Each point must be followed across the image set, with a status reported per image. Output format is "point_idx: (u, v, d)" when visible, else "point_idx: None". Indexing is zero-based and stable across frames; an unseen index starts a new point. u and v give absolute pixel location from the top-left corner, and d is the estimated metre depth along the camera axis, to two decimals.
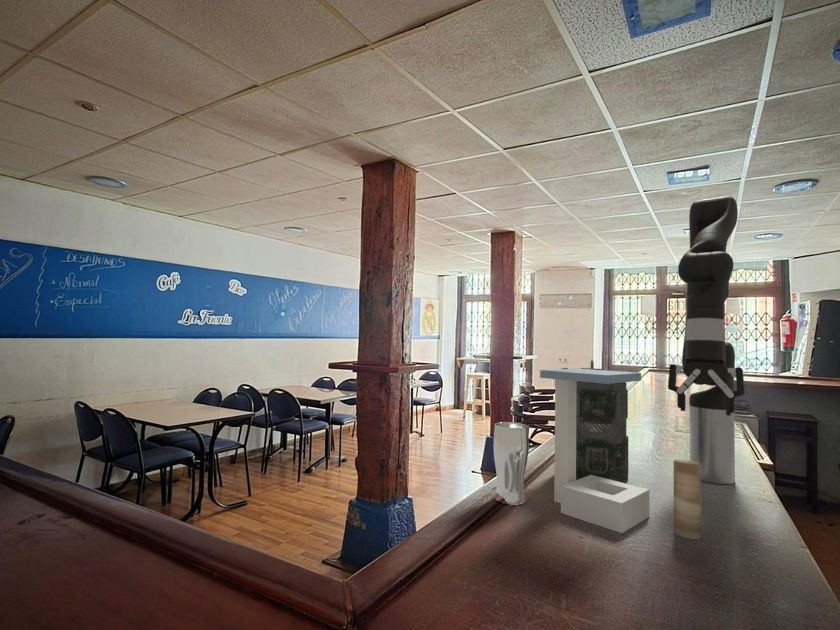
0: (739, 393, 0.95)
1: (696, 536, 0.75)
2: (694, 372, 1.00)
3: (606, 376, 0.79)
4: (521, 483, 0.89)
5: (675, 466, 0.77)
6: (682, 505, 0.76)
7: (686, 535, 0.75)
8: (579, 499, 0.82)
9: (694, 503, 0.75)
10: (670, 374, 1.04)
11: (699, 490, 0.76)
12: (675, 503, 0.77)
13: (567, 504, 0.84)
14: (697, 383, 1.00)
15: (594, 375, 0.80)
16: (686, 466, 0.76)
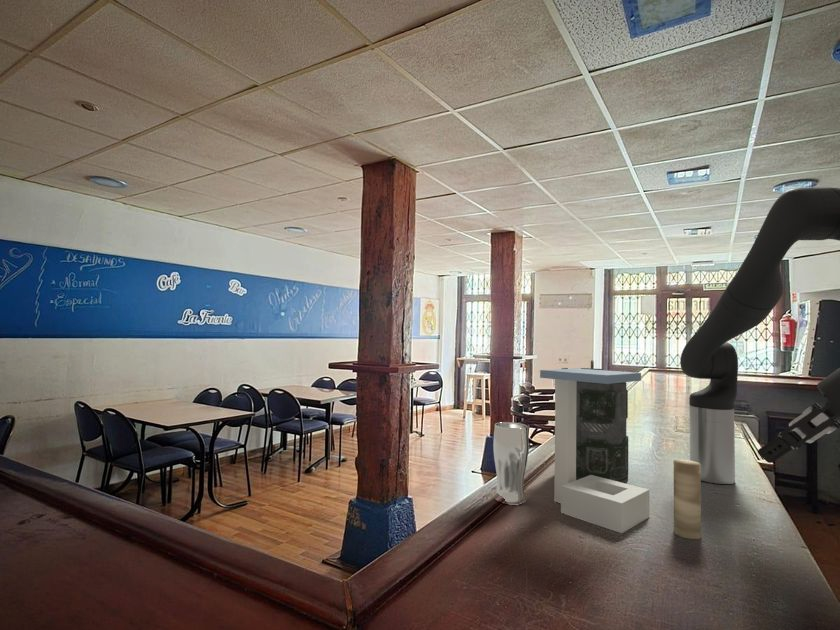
0: None
1: (696, 536, 0.75)
2: (834, 430, 0.63)
3: (606, 376, 0.79)
4: (521, 483, 0.89)
5: (675, 466, 0.77)
6: (682, 505, 0.76)
7: (686, 535, 0.75)
8: (579, 499, 0.82)
9: (694, 503, 0.75)
10: (818, 433, 0.60)
11: (699, 490, 0.76)
12: (675, 503, 0.77)
13: (567, 504, 0.84)
14: None
15: (594, 375, 0.80)
16: (686, 466, 0.76)
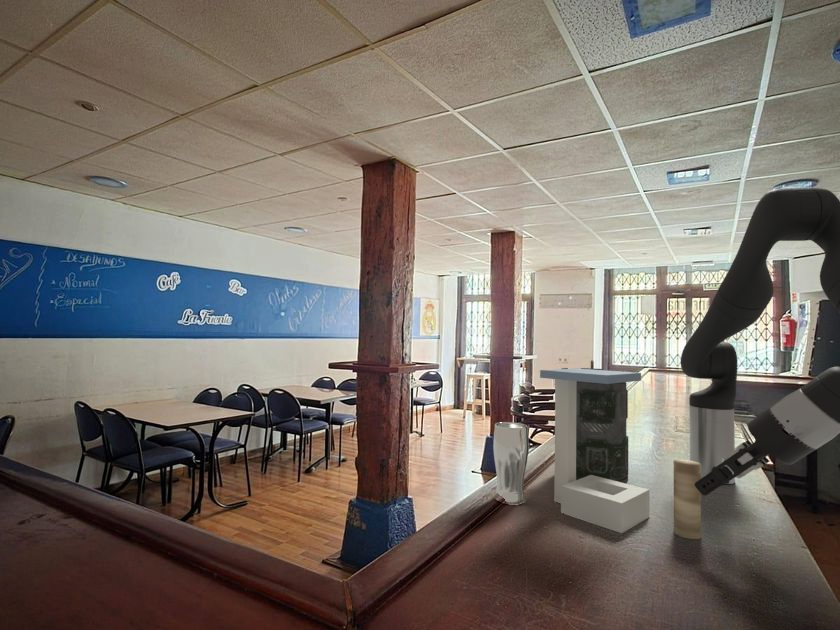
0: None
1: (696, 536, 0.75)
2: (760, 467, 0.69)
3: (606, 376, 0.79)
4: (521, 483, 0.89)
5: (675, 466, 0.77)
6: (682, 505, 0.76)
7: (686, 535, 0.75)
8: (579, 499, 0.82)
9: (694, 503, 0.75)
10: (743, 471, 0.66)
11: None
12: (675, 503, 0.77)
13: (567, 504, 0.84)
14: None
15: (594, 375, 0.80)
16: (686, 466, 0.76)
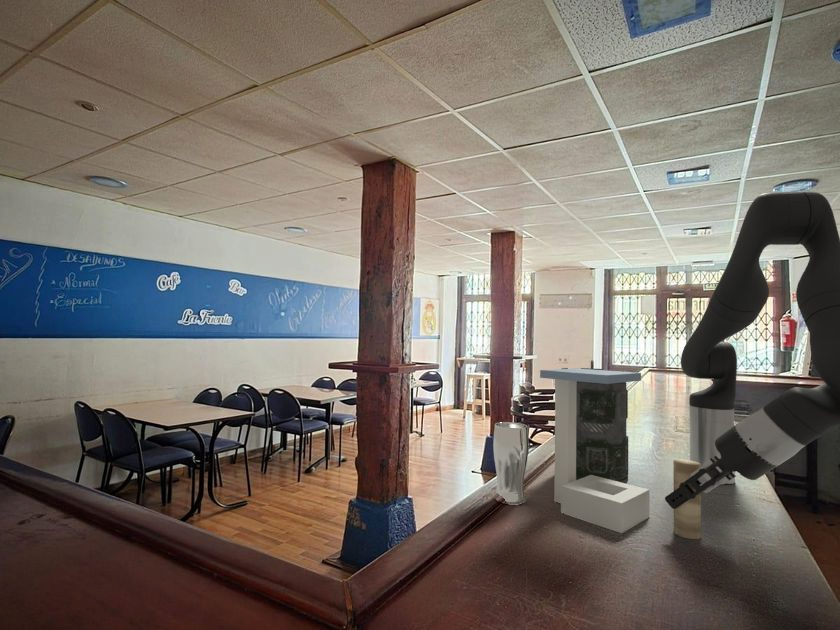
0: None
1: (696, 536, 0.75)
2: (725, 483, 0.72)
3: (606, 376, 0.79)
4: (521, 483, 0.89)
5: (675, 466, 0.77)
6: (682, 505, 0.76)
7: (686, 535, 0.75)
8: (579, 499, 0.82)
9: (694, 503, 0.75)
10: (704, 490, 0.70)
11: None
12: None
13: (567, 504, 0.84)
14: None
15: (594, 375, 0.80)
16: (686, 466, 0.76)
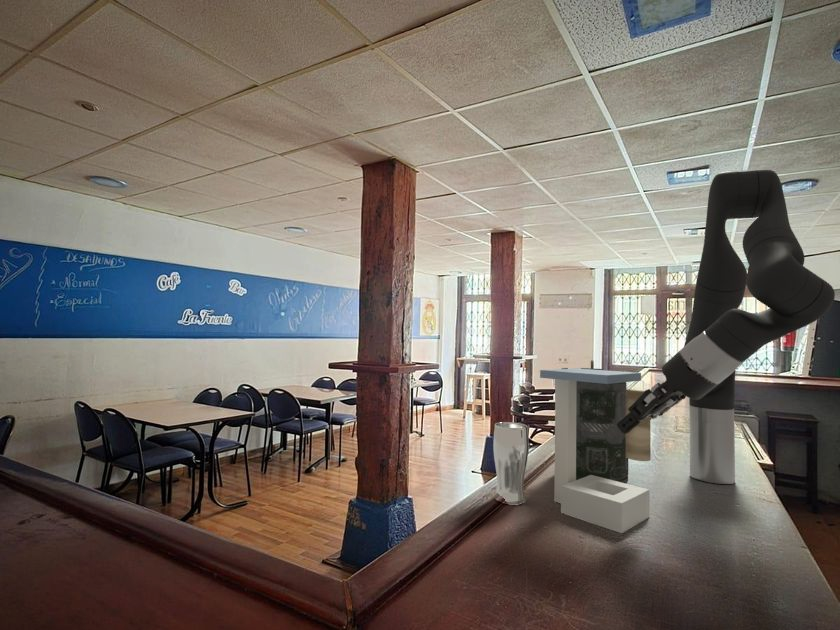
0: (661, 414, 0.82)
1: (645, 458, 0.79)
2: (670, 404, 0.76)
3: (606, 376, 0.79)
4: (521, 483, 0.89)
5: (627, 394, 0.81)
6: (632, 429, 0.80)
7: (636, 457, 0.79)
8: (579, 499, 0.82)
9: (643, 427, 0.79)
10: (649, 409, 0.74)
11: None
12: None
13: (567, 504, 0.84)
14: None
15: (594, 375, 0.80)
16: (636, 392, 0.80)
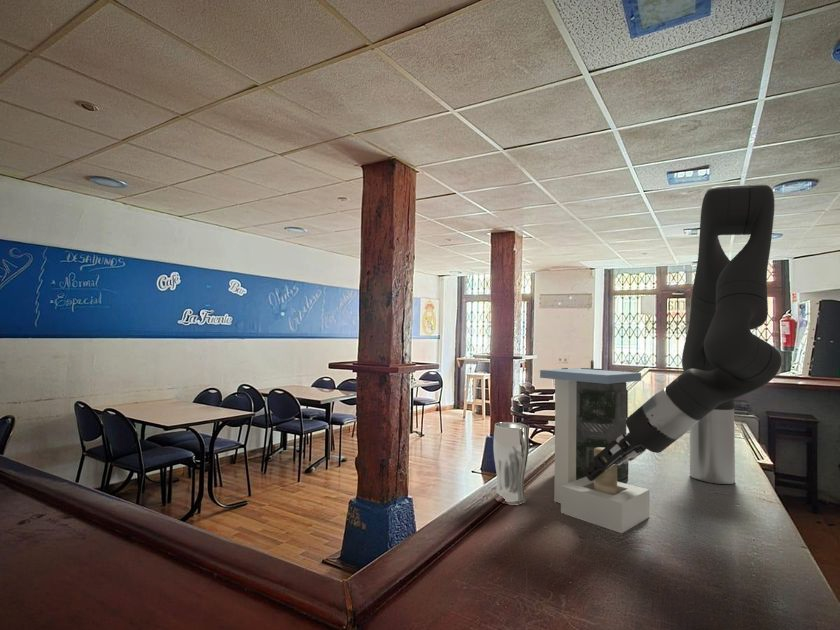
0: None
1: None
2: (634, 456, 0.79)
3: (606, 376, 0.79)
4: (521, 483, 0.89)
5: (595, 453, 0.85)
6: (599, 488, 0.84)
7: None
8: (579, 499, 0.82)
9: (610, 486, 0.83)
10: (614, 460, 0.78)
11: (615, 475, 0.83)
12: (594, 487, 0.85)
13: (567, 504, 0.84)
14: None
15: (594, 375, 0.80)
16: None
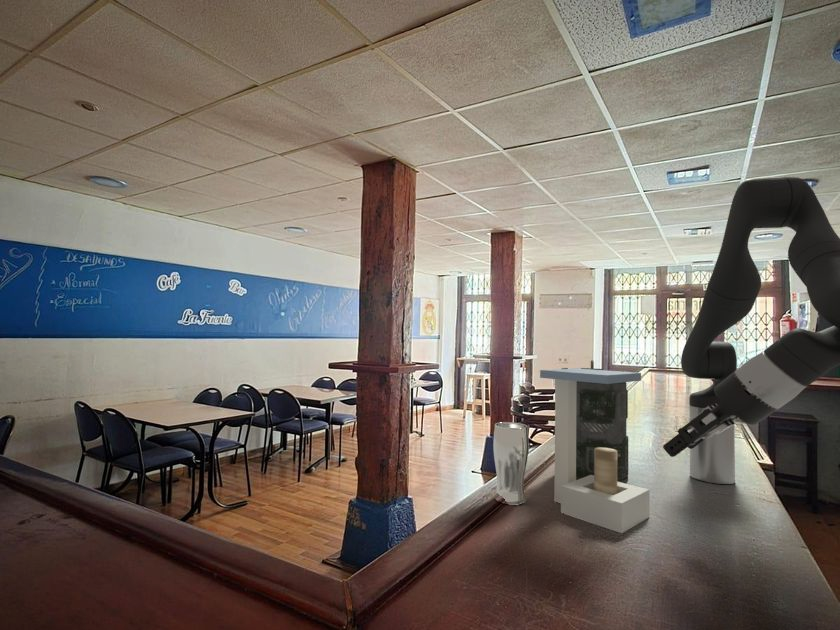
0: None
1: None
2: (725, 428, 0.71)
3: (606, 376, 0.79)
4: (521, 483, 0.89)
5: (595, 453, 0.85)
6: (599, 488, 0.84)
7: None
8: (579, 499, 0.82)
9: (610, 486, 0.83)
10: (707, 431, 0.68)
11: (615, 475, 0.83)
12: (595, 487, 0.85)
13: (567, 504, 0.84)
14: (709, 432, 0.73)
15: (594, 375, 0.80)
16: (603, 453, 0.83)
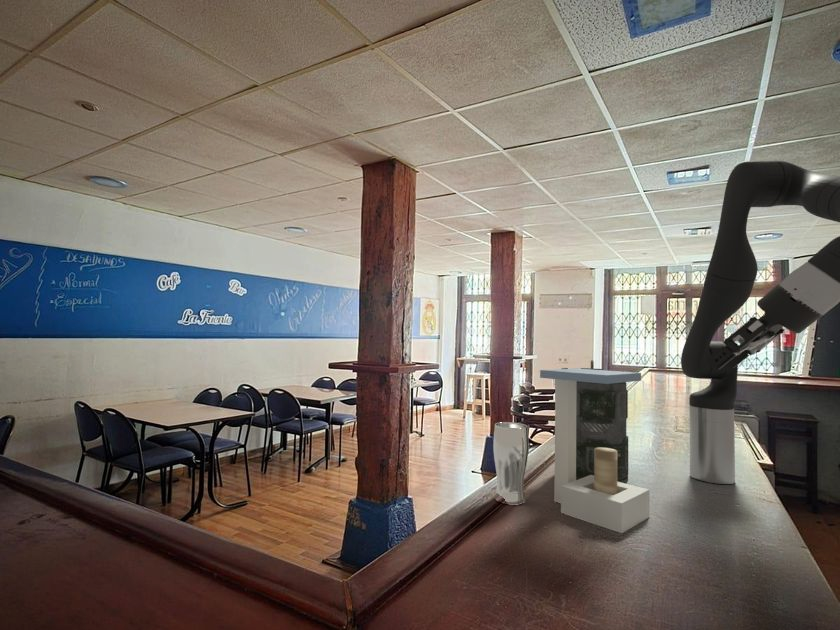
0: (757, 351, 0.81)
1: None
2: (769, 338, 0.74)
3: (606, 376, 0.79)
4: (521, 483, 0.89)
5: (595, 453, 0.85)
6: (599, 488, 0.84)
7: None
8: (579, 499, 0.82)
9: (610, 486, 0.83)
10: (754, 338, 0.71)
11: (615, 475, 0.83)
12: (595, 487, 0.85)
13: (567, 504, 0.84)
14: None
15: (594, 375, 0.80)
16: (603, 453, 0.83)
